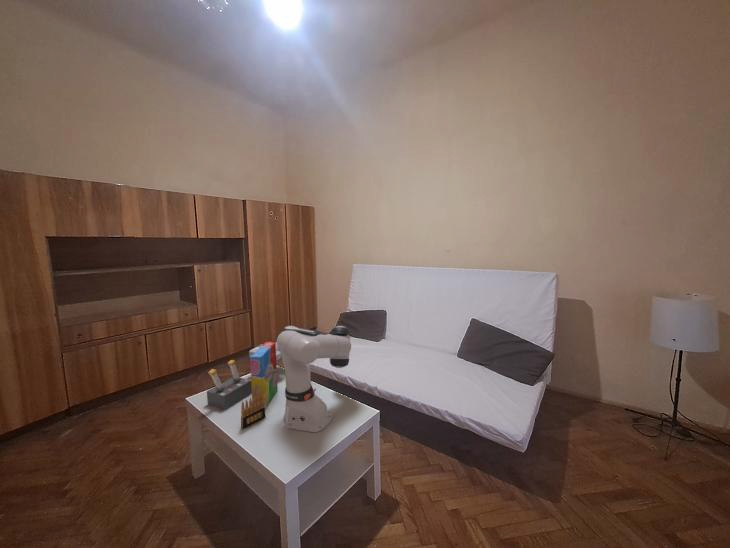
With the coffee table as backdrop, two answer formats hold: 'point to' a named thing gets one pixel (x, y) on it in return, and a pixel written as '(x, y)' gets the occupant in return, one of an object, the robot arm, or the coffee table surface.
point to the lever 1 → (216, 380)
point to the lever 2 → (234, 371)
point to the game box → (264, 372)
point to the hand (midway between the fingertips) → (255, 359)
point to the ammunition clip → (252, 412)
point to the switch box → (229, 393)
